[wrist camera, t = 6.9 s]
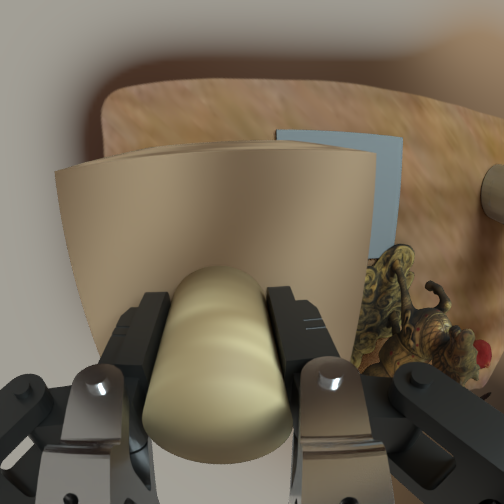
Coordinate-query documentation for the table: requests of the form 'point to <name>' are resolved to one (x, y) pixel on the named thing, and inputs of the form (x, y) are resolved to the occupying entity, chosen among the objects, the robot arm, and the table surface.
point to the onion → (483, 353)
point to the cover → (220, 272)
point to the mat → (385, 179)
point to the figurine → (409, 323)
